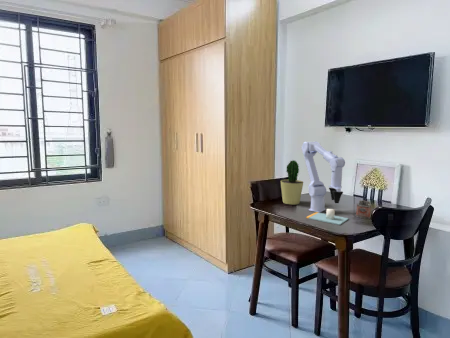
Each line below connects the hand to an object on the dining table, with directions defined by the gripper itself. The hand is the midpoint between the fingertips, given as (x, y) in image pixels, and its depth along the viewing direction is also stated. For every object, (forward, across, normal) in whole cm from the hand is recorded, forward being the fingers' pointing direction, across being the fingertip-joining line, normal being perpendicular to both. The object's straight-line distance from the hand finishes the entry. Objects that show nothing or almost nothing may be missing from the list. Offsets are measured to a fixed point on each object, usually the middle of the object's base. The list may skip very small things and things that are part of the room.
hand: (335, 201), depth 190 cm
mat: (+9, +4, -4) cm, 11 cm away
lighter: (+10, -2, +17) cm, 20 cm away
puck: (+9, +5, -3) cm, 11 cm away
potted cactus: (+10, -32, -22) cm, 40 cm away
